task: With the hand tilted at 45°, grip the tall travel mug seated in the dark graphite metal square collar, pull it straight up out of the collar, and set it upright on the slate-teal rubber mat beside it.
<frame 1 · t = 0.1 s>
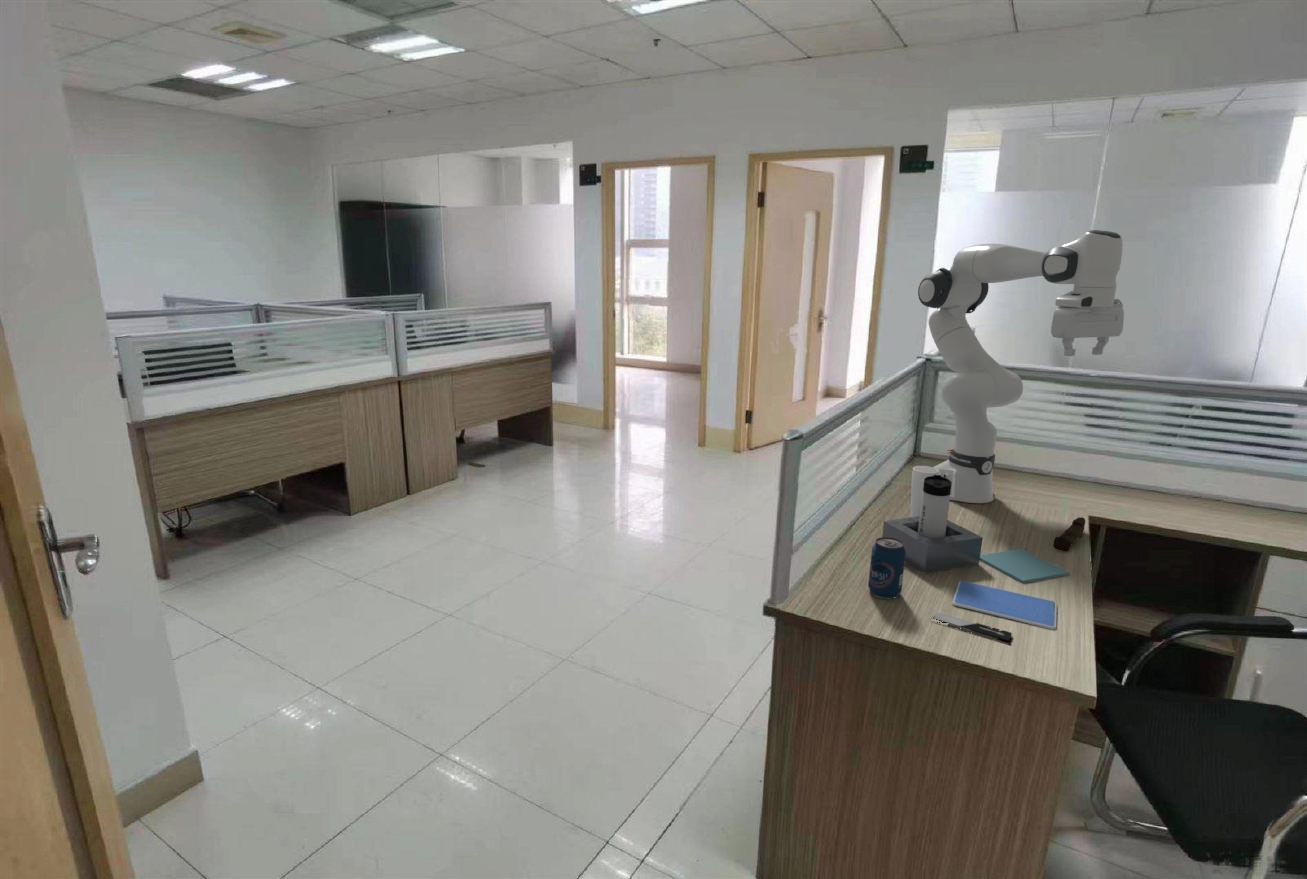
hand: (1083, 355, 171), 48 cm above the table, tool pointing down, fingers open, 8 cm apart
soda can: (884, 593, 150), on the table
travel mug: (928, 555, 169), resting in square collar
knife: (970, 631, 136), on the table
tablet computer: (1003, 608, 145), on the table
rubber mat: (1021, 566, 163), on the table
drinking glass: (919, 520, 192), on the table
hand tool: (1068, 541, 179), on the table
square collar: (928, 555, 169), on the table
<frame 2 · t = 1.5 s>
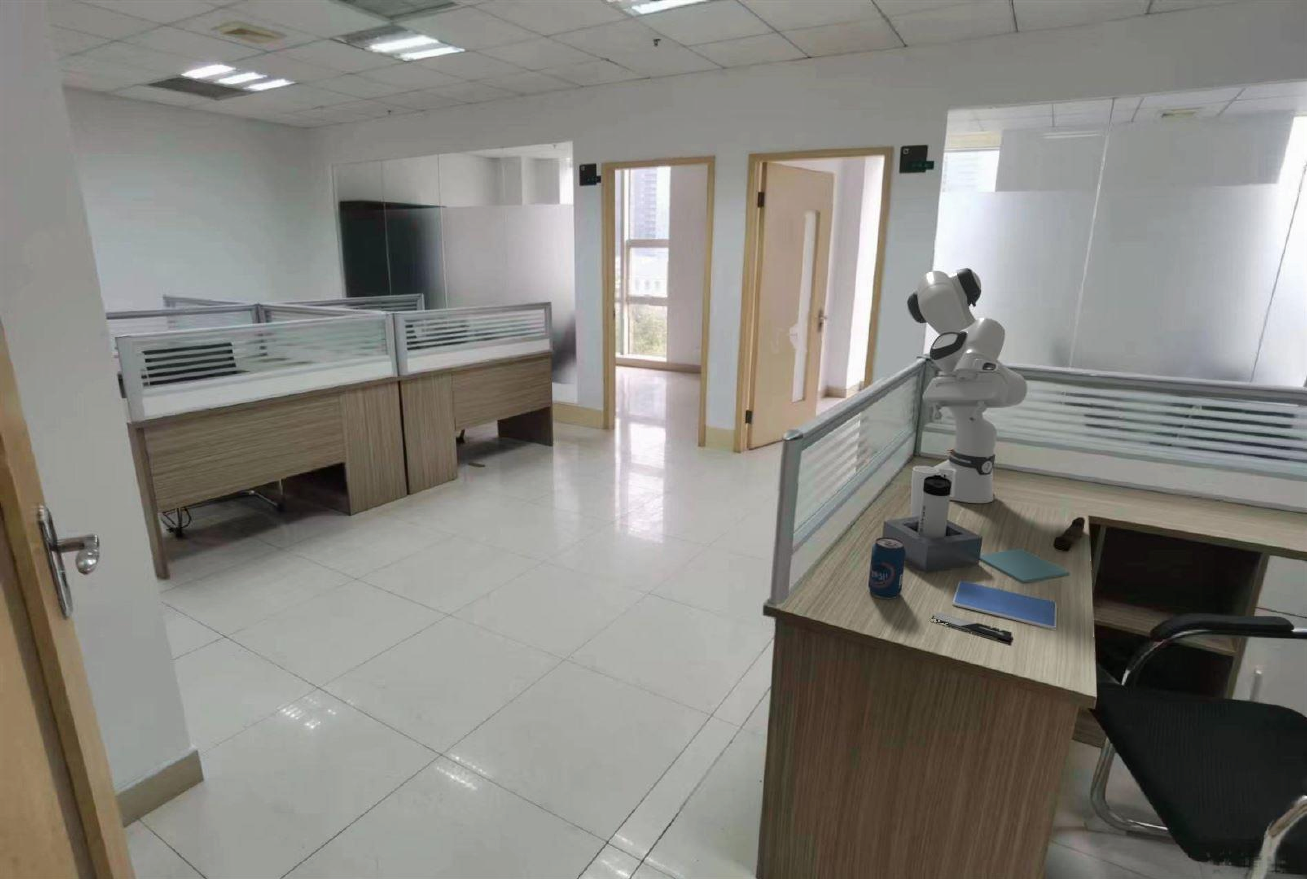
hand: (954, 418, 168), 33 cm above the table, tool tilted 45°, fingers open, 8 cm apart
nothing on the table moved.
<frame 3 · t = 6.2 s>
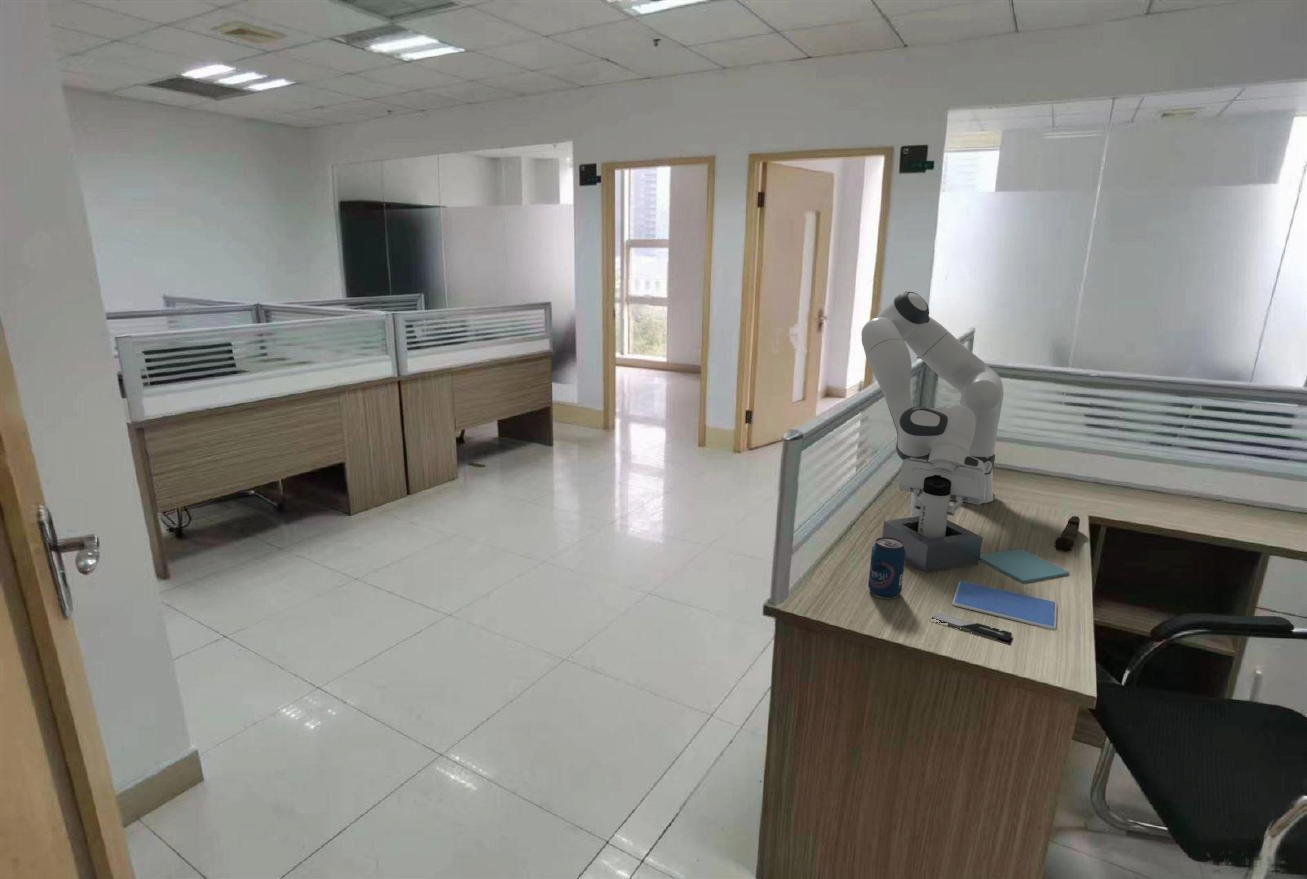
hand: (933, 511, 165), 12 cm above the table, tool tilted 45°, fingers closed on travel mug, 6 cm apart
travel mug: (928, 555, 169), resting in square collar, touching gripper
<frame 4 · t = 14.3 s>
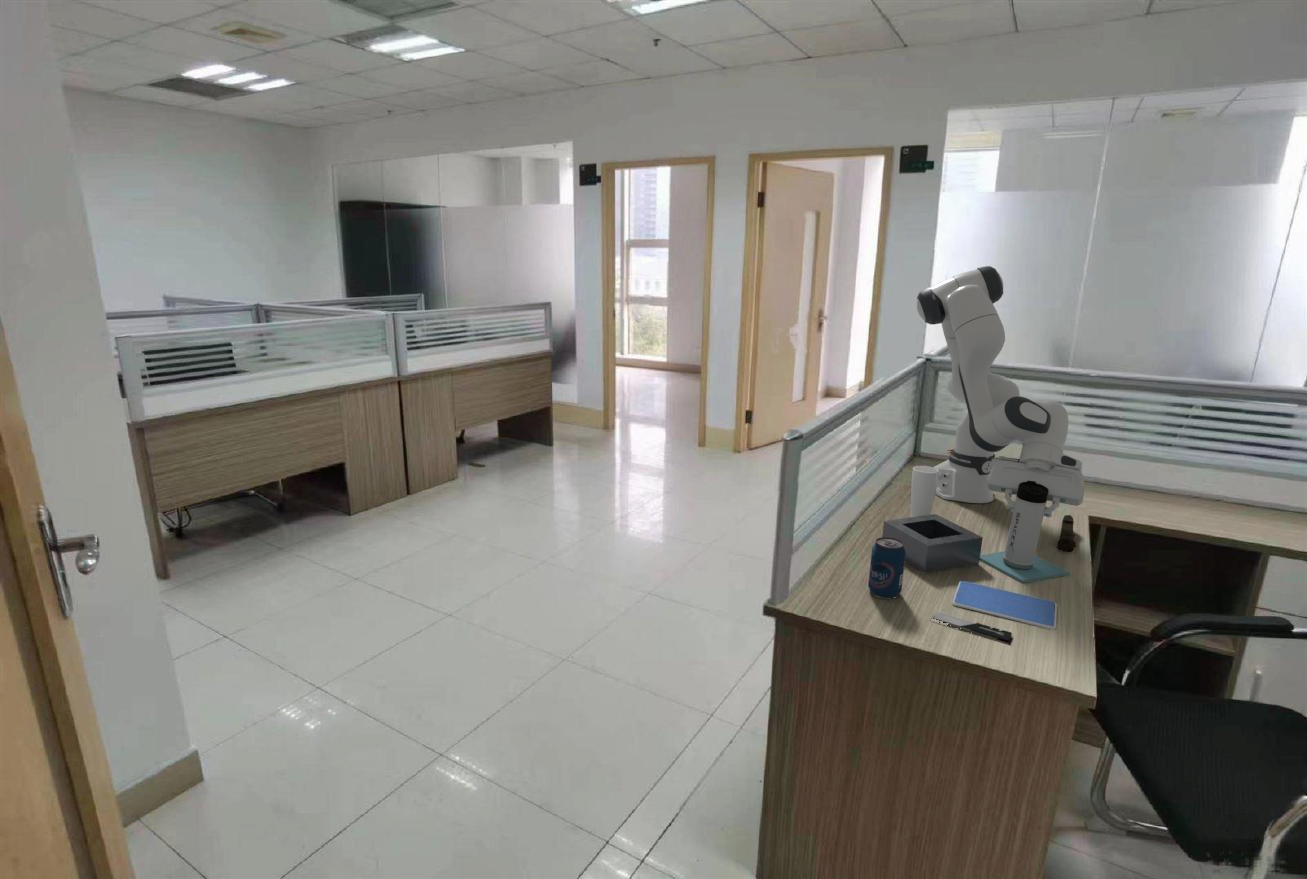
hand: (1028, 512, 159), 14 cm above the table, tool tilted 45°, fingers closed on travel mug, 6 cm apart
travel mug: (1017, 564, 163), point 1 cm above the table, touching gripper, rubber mat
when the fingers open (14 cm above the table, at t = 14.8 s): travel mug stays where it is, resting on rubber mat.
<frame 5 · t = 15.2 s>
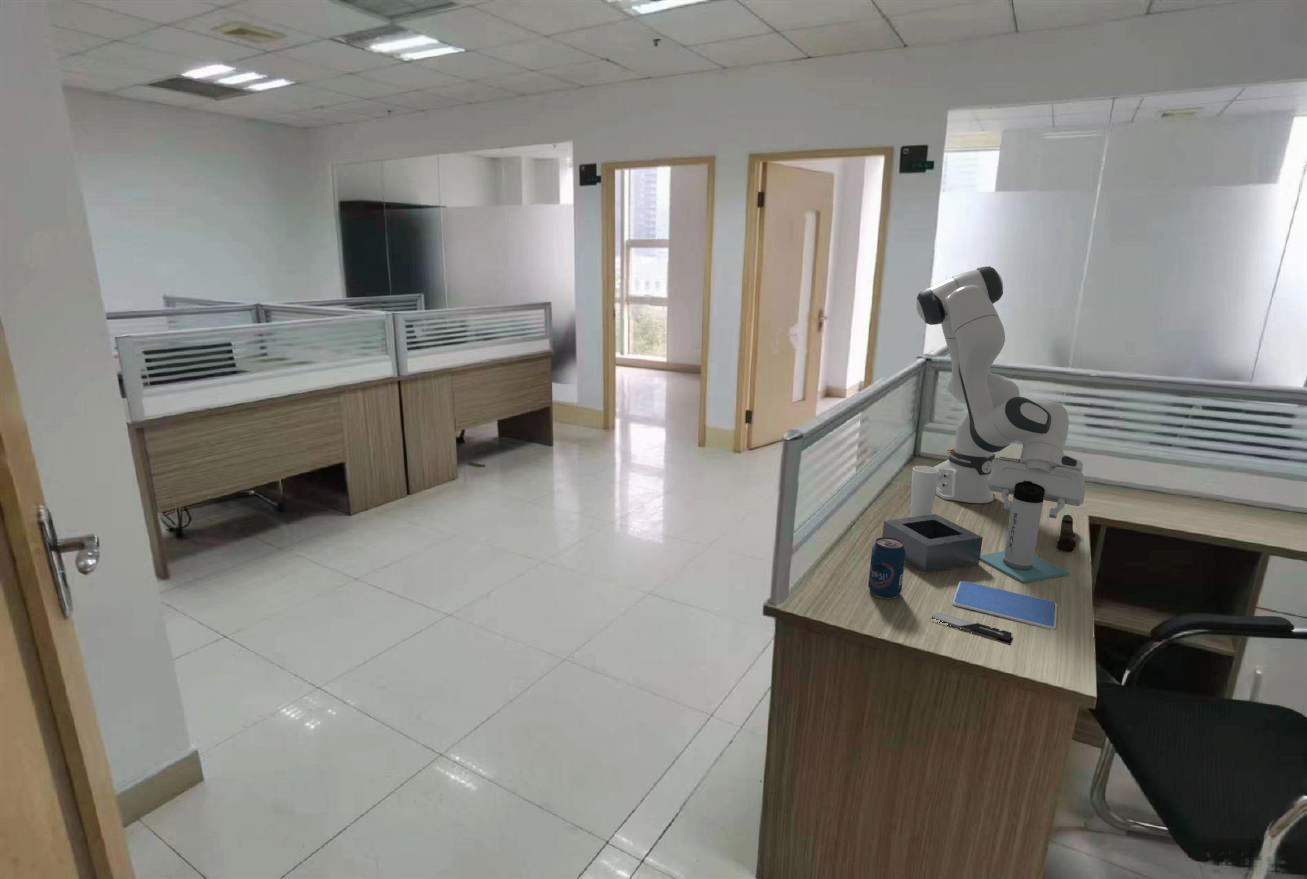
hand: (1029, 512, 159), 14 cm above the table, tool tilted 45°, fingers open, 8 cm apart
travel mug: (1017, 564, 163), resting on rubber mat
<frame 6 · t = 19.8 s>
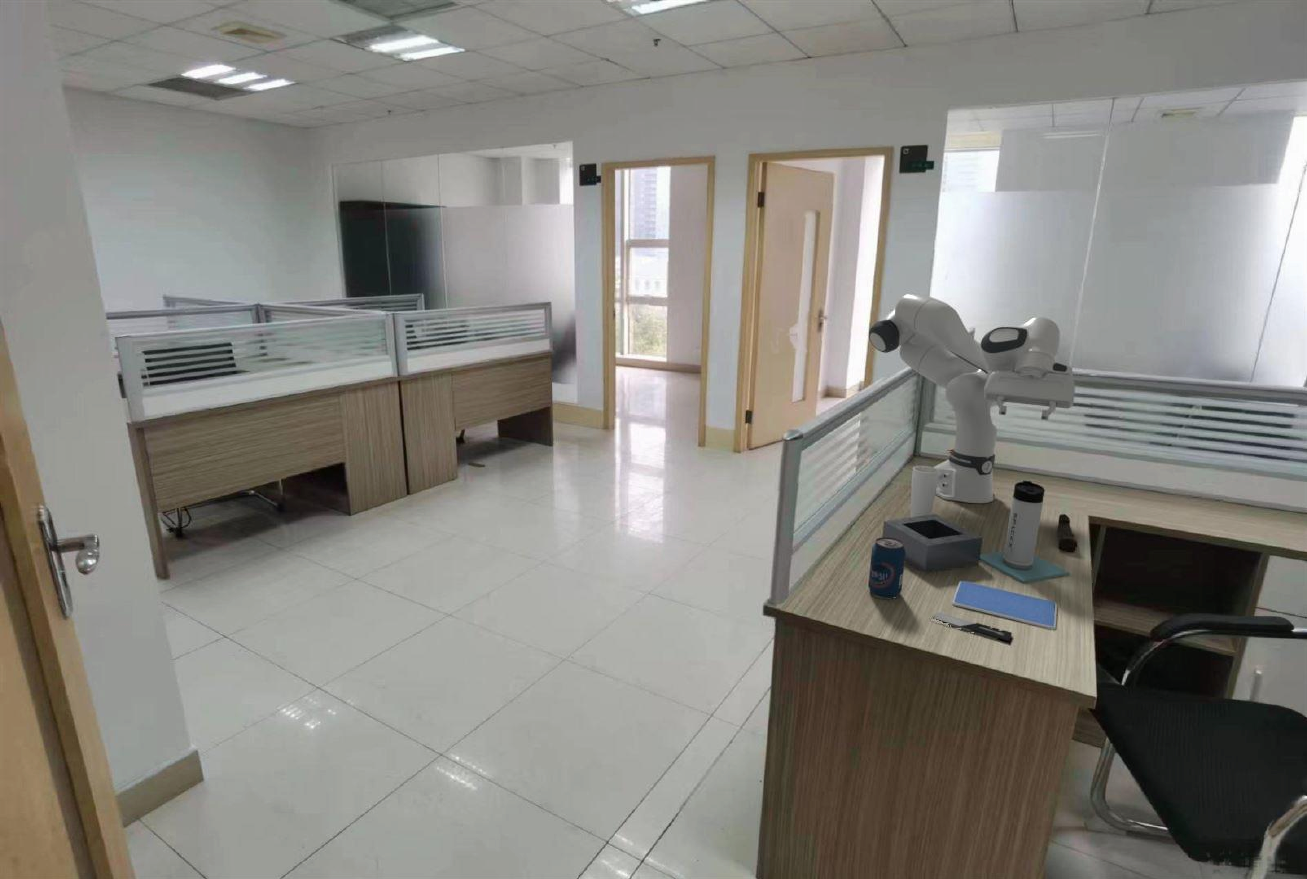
hand: (1023, 415, 170), 33 cm above the table, tool tilted 45°, fingers open, 8 cm apart
at the end: travel mug inside the target area on the rubber mat (1.2 cm from its centre), point 0.4 cm above the rubber mat's base; travel mug tilted 0°; the gripper is holding nothing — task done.
